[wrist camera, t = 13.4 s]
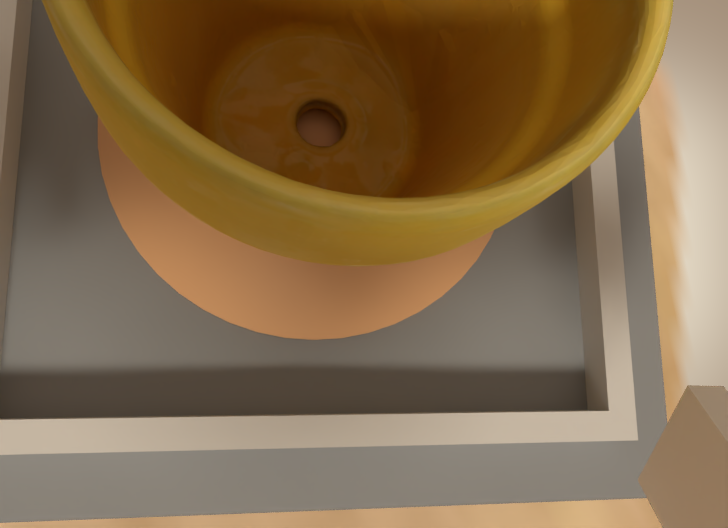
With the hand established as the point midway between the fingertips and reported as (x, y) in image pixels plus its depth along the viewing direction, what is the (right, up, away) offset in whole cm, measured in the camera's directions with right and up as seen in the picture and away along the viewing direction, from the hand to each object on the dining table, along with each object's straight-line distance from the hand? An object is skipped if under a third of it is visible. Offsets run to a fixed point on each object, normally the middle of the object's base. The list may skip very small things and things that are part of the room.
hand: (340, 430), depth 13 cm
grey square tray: (-2, +6, +12) cm, 14 cm away
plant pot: (-1, +7, +7) cm, 10 cm away
